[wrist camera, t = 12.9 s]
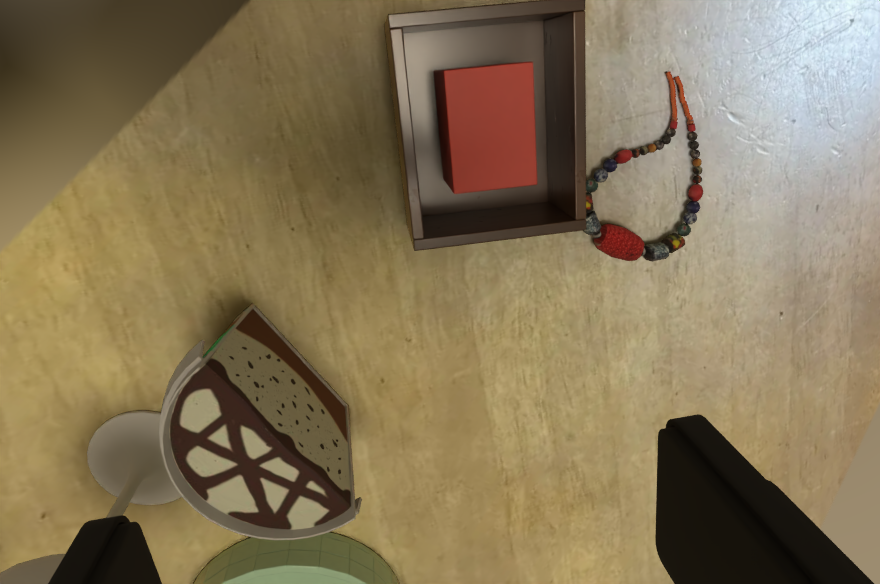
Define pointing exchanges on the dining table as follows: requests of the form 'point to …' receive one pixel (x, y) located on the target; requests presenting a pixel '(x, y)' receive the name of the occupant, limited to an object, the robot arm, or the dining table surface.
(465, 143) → the block
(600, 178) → the necklace
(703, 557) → the robot arm
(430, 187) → the box
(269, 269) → the dining table surface
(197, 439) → the cake cutout
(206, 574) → the bowl
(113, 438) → the wineglass
